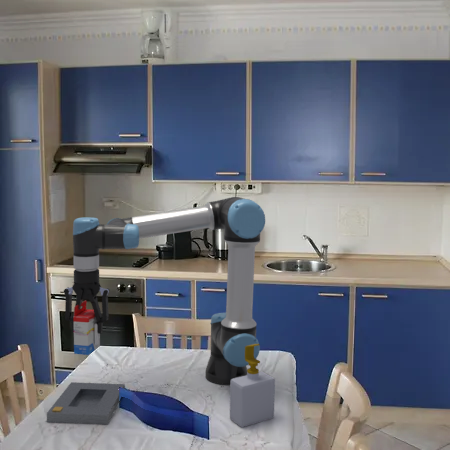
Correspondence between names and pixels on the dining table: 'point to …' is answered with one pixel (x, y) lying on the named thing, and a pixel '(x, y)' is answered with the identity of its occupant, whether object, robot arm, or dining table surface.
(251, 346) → the soap bottle
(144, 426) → the dining table surface
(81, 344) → the ink box
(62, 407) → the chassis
